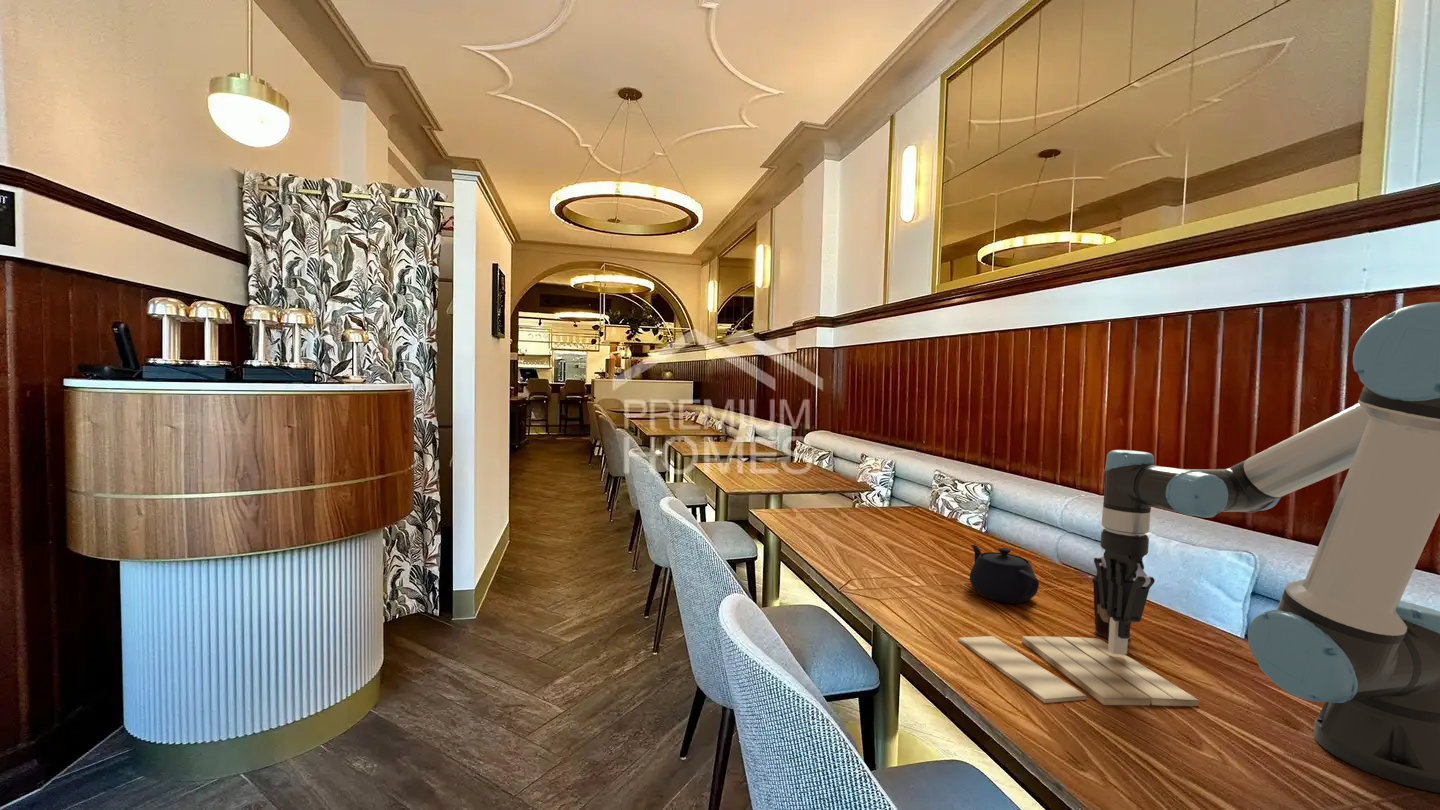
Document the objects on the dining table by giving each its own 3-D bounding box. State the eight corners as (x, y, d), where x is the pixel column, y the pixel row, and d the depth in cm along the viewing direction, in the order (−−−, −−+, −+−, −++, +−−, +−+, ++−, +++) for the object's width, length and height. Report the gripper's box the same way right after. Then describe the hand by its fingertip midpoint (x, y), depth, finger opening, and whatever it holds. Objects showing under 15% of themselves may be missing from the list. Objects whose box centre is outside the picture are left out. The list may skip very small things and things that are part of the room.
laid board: (1149, 705, 97) (1150, 697, 97) (1103, 704, 97) (1103, 697, 97) (1059, 642, 121) (1059, 636, 121) (1022, 641, 121) (1022, 635, 121)
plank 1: (1085, 702, 99) (1086, 695, 99) (1044, 706, 97) (1045, 698, 97) (992, 641, 122) (992, 635, 122) (958, 643, 121) (958, 637, 120)
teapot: (1064, 612, 139) (1066, 561, 138) (1006, 615, 136) (1008, 563, 135) (995, 578, 163) (997, 534, 163) (944, 579, 160) (946, 535, 160)
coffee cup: (1144, 646, 121) (1148, 584, 120) (1100, 641, 123) (1103, 580, 122) (1124, 629, 129) (1127, 571, 129) (1083, 625, 131) (1086, 567, 131)
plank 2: (1198, 707, 98) (1198, 699, 98) (1152, 705, 97) (1152, 697, 97) (1098, 644, 122) (1099, 637, 122) (1061, 642, 121) (1062, 636, 121)
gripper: (1171, 540, 106) (1163, 668, 107) (1119, 523, 119) (1111, 637, 120) (1131, 539, 105) (1123, 668, 106) (1083, 522, 118) (1076, 637, 119)
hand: (1117, 651), depth 113 cm, fingers closed
